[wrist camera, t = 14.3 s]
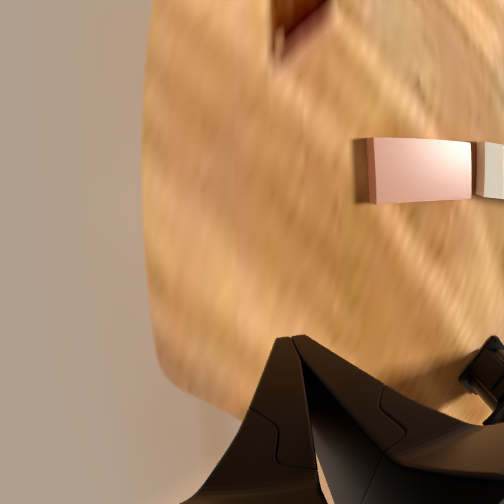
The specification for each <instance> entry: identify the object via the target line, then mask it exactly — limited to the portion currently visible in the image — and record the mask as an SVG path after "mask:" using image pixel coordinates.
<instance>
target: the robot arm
mask: <svg viewBox="0 0 504 504" xmlns="http://www.w3.org/2000/svg"><path fill="white" fill-rule="evenodd" d="M459 381H460V382H461V383H462V384H463V385H464V386H466V387H467V388H468V389H469V390H471V391H472V392H473V393H474V394H476V395H477V394H478V395H479V396H480V397H481V398H482V399H483V401H484V402H485V403H486V404H487V405H488V406H489V407H490V409H491V410H492V411H493V413H492V414H491V415H490V416H489V417H488V418H487V419H486V420H485V421H484V422H483V423H482V424H483V425H484V426H481V425H473V424H469V423H466V422H463V421H461V420H458V419H456V418H453V417H451V416H449V415H446V414H444V413H442V412H439V411H437V410H434V409H432V408H430V407H428V406H425V405H423V404H421V403H419V402H417V401H415V400H413V399H411V398H409V397H407V396H405V395H403V394H401V393H400V392H398V391H396V390H394V389H393V388H391V387H389V386H388V385H385V386H384V383H382V382H381V381H379V380H377V379H376V378H374V377H372V376H371V375H369V374H367V373H366V372H364V371H363V370H361V369H359V368H358V367H356V366H354V365H353V364H351V363H349V362H348V361H346V360H345V359H343V358H341V357H340V356H338V355H337V354H335V353H333V352H332V351H330V350H329V349H327V348H325V347H324V346H322V345H321V344H319V343H318V342H316V341H314V340H313V339H311V338H310V337H308V336H307V335H296V336H292V337H291V338H290V337H281V338H276V339H275V342H274V344H273V347H272V350H271V352H270V355H269V358H268V360H267V363H266V366H265V368H264V371H263V373H262V376H261V378H260V381H259V383H258V386H257V389H256V391H255V394H254V396H253V399H252V401H251V404H250V406H249V409H248V410H247V413H246V415H245V418H244V420H243V422H242V424H241V426H240V429H239V431H238V433H237V434H236V436H235V438H234V439H233V441H232V443H231V445H230V446H229V448H228V449H227V451H226V452H225V454H224V455H223V457H222V458H221V460H220V461H219V463H218V464H217V465H216V467H215V468H214V470H213V471H212V473H211V474H210V476H209V477H208V479H207V480H206V481H205V483H204V484H203V485H202V486H201V488H200V489H199V490H198V491H197V492H196V493H195V494H194V495H193V496H192V497H190V498H189V499H188V500H186V501H184V502H182V503H180V504H328V503H327V501H326V499H325V497H324V494H323V492H322V490H321V486H320V482H319V476H318V471H317V470H318V469H317V461H316V454H317V457H318V459H319V462H320V465H321V468H322V470H323V473H324V476H325V478H326V481H327V484H328V487H329V489H330V492H331V495H332V498H333V500H334V503H335V504H504V345H503V344H502V342H501V341H500V340H499V338H498V337H497V336H493V337H492V339H491V340H490V341H489V343H488V344H487V345H486V346H485V348H484V349H483V350H482V351H481V353H480V354H479V355H478V356H477V358H476V359H475V360H474V361H473V362H472V364H471V365H470V366H469V367H468V368H467V369H466V370H465V372H464V373H463V374H462V375H461V376H460V378H459ZM315 451H316V454H315Z"/></svg>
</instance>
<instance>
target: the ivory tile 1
mask: <svg viewBox="0 0 504 504" xmlns="http://www.w3.org/2000/svg"><path fill="white" fill-rule="evenodd" d="M476 194H477V195H479V196H482V197H489V198H498V199H504V145H501V144H496V143H490V142H477V178H476Z"/></svg>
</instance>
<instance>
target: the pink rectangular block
mask: <svg viewBox="0 0 504 504" xmlns="http://www.w3.org/2000/svg"><path fill="white" fill-rule="evenodd" d="M366 144H367V159H368V180H369V202H371V203H374V204H391V203H405V202H420V201H437V200H455V199H471V144H470V143H468V142H458V141H445V140H431V139H413V138H379V137H373V138H366Z"/></svg>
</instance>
